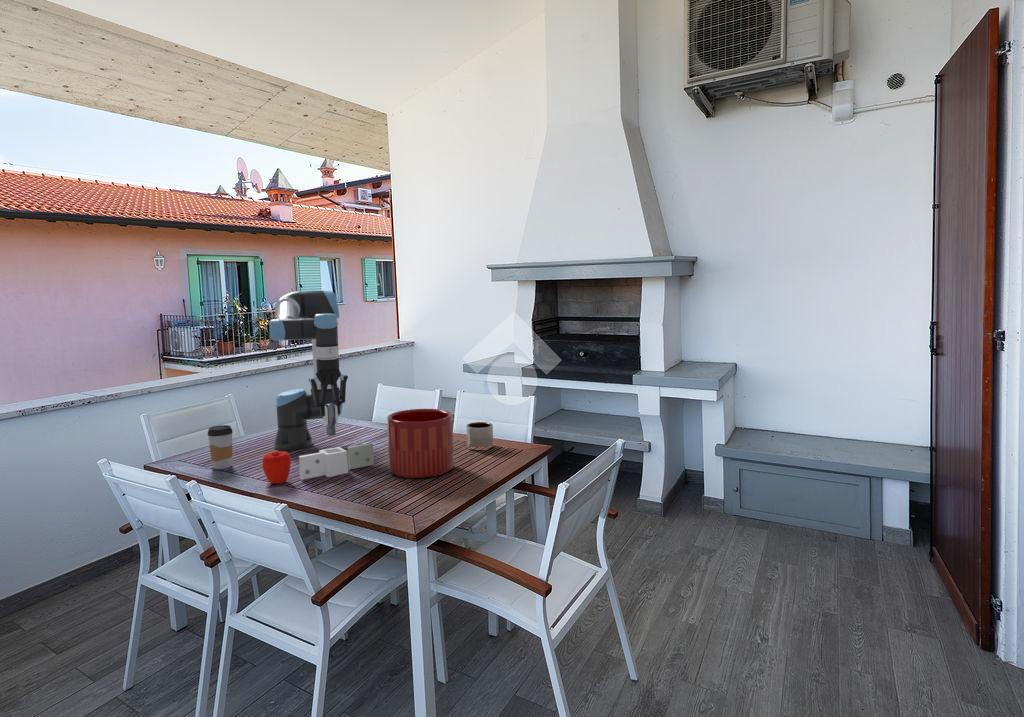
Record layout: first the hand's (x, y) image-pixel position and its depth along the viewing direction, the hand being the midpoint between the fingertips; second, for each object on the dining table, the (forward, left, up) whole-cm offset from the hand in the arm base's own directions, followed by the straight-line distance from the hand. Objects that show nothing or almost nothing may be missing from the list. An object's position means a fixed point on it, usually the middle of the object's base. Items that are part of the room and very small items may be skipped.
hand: (330, 424), depth 203 cm
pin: (0, 0, -4) cm, 4 cm away
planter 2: (+6, +59, -18) cm, 62 cm away
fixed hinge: (0, -4, -18) cm, 18 cm away
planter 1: (+17, +26, -18) cm, 36 cm away
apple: (-1, -19, -18) cm, 26 cm away
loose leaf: (0, +11, -18) cm, 20 cm away
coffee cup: (-33, -30, -18) cm, 48 cm away
